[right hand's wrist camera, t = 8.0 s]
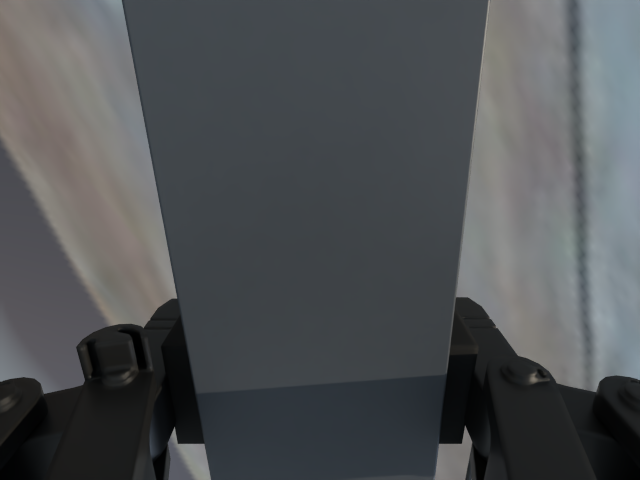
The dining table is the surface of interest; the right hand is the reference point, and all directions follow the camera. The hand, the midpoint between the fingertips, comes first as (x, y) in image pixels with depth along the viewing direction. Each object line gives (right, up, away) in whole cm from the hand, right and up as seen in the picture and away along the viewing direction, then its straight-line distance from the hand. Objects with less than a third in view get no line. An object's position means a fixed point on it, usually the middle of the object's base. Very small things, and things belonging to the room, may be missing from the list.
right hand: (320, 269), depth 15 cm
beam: (-1, +28, -11) cm, 30 cm away
